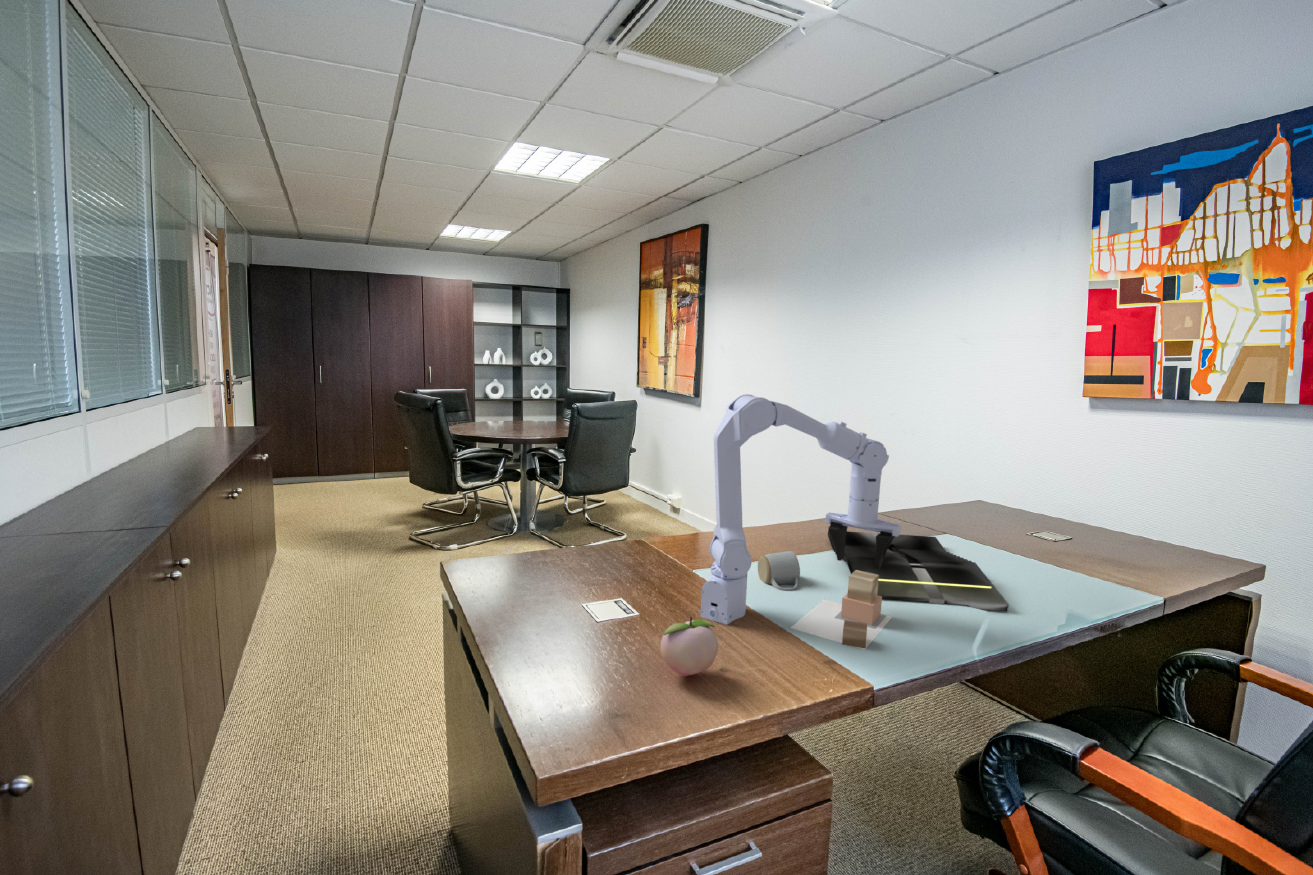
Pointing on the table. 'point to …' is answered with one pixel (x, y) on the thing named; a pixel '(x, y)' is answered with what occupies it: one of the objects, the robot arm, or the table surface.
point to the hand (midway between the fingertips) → (858, 563)
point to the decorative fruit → (689, 646)
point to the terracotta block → (861, 610)
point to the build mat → (834, 623)
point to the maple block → (862, 586)
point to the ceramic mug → (779, 569)
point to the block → (854, 634)
